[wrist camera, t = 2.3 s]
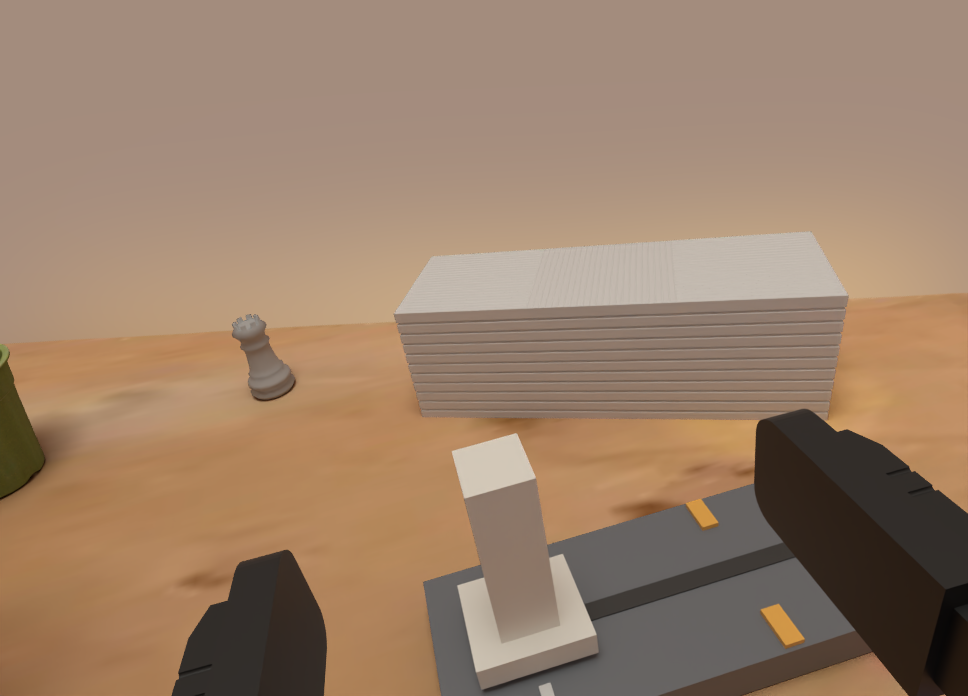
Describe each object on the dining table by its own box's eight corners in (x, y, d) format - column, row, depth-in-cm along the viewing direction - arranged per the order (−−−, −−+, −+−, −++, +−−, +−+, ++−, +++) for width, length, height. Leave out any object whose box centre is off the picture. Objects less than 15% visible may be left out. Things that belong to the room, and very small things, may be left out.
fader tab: (481, 690, 29) (431, 527, 23) (462, 602, 33) (416, 446, 27) (598, 652, 30) (579, 484, 24) (565, 571, 34) (542, 411, 28)
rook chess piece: (262, 377, 64) (233, 311, 59) (302, 373, 63) (276, 306, 59) (245, 404, 60) (213, 335, 56) (287, 399, 59) (258, 330, 55)
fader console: (462, 788, 28) (450, 760, 27) (432, 607, 37) (422, 578, 35) (917, 636, 31) (929, 602, 29) (791, 499, 39) (795, 467, 38)
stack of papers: (422, 419, 53) (393, 313, 48) (453, 352, 62) (431, 256, 56) (826, 422, 45) (848, 294, 39) (796, 344, 54) (811, 230, 48)
